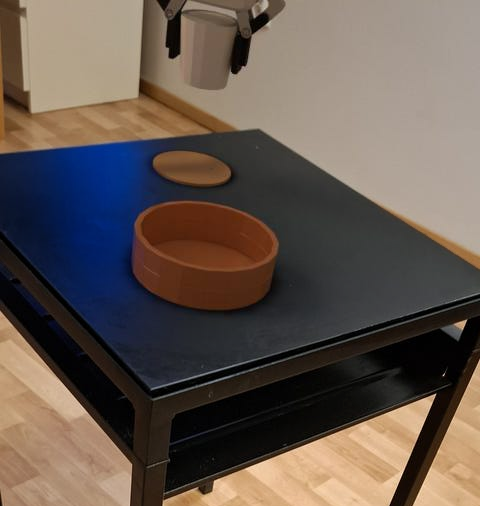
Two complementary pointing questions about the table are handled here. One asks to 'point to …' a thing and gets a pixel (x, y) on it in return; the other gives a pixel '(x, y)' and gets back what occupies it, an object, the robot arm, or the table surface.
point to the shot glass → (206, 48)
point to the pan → (203, 255)
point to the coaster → (191, 168)
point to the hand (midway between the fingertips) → (205, 62)
